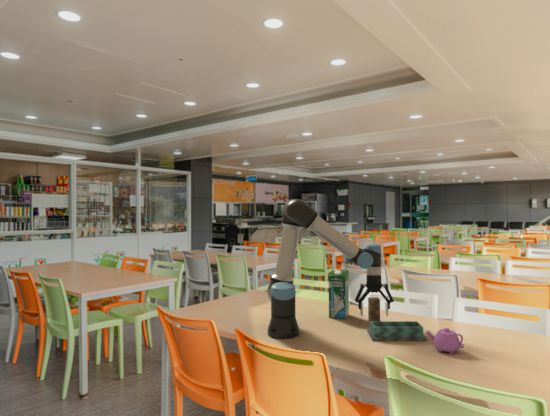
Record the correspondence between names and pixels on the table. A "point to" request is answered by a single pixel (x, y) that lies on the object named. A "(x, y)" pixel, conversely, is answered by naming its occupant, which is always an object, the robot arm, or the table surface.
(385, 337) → the green tray
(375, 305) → the walnut block
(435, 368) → the table surface
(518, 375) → the table surface
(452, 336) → the teapot
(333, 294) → the milk carton
